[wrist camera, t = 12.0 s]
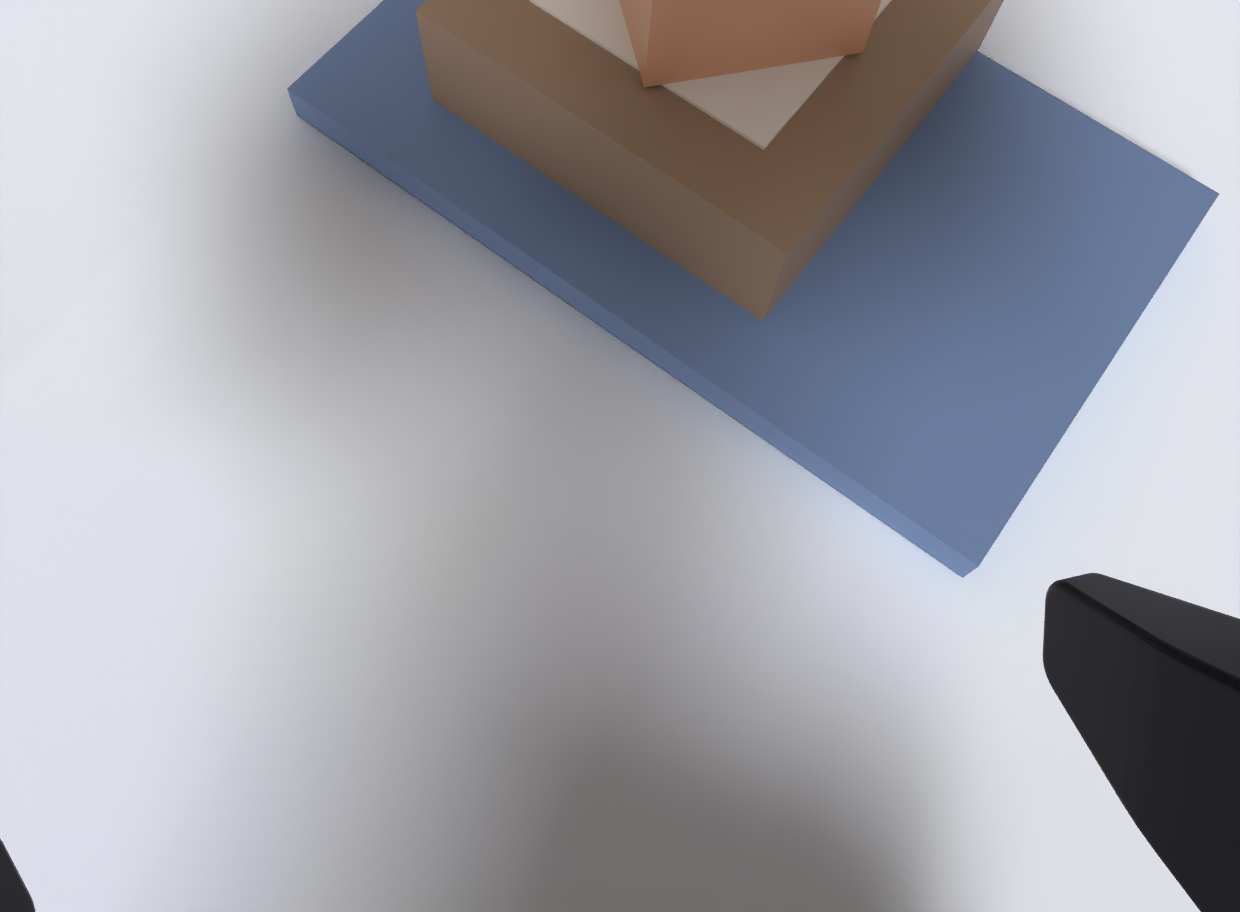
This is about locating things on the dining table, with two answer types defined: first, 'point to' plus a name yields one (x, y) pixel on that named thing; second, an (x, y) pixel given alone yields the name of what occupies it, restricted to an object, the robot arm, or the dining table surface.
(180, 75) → the dining table surface
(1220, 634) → the robot arm
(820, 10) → the column
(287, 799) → the dining table surface
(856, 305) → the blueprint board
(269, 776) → the dining table surface
